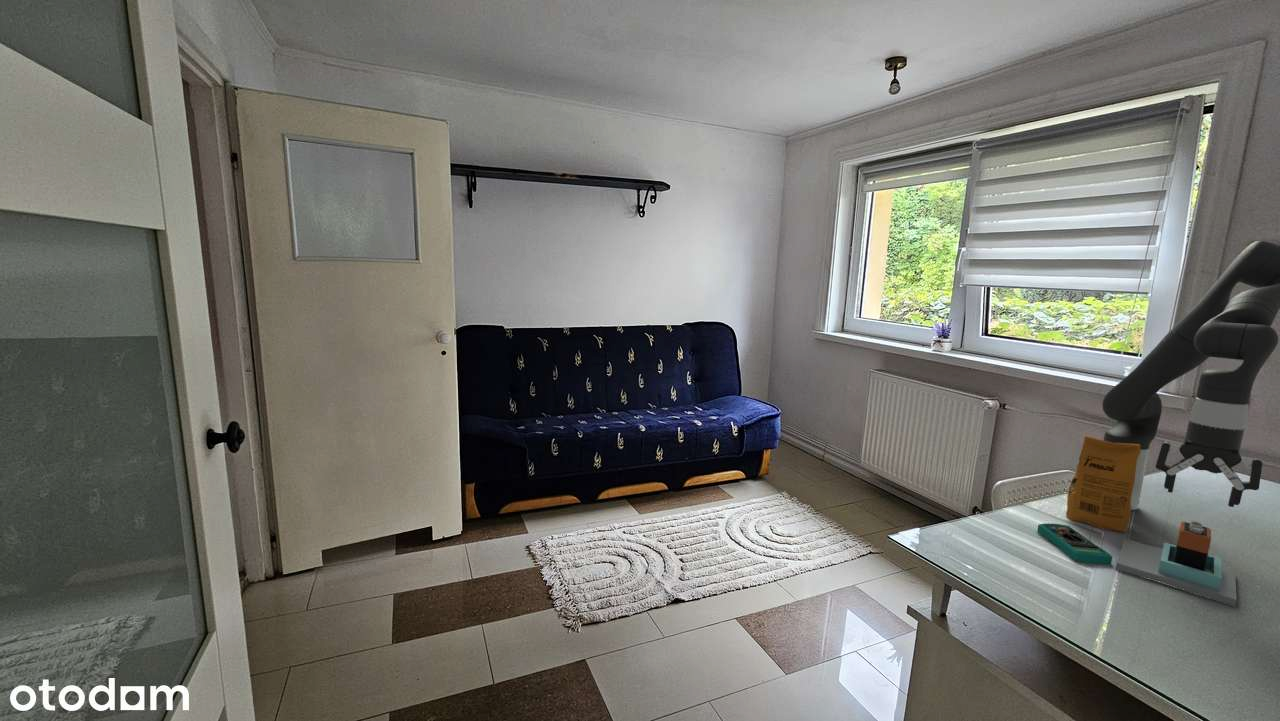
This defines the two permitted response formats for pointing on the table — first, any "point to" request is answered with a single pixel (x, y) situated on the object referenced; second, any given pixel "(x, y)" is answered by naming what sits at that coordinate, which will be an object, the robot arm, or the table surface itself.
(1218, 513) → the table surface
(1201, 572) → the plate
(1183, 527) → the battery
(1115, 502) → the coffee package
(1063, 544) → the digital multimeter
